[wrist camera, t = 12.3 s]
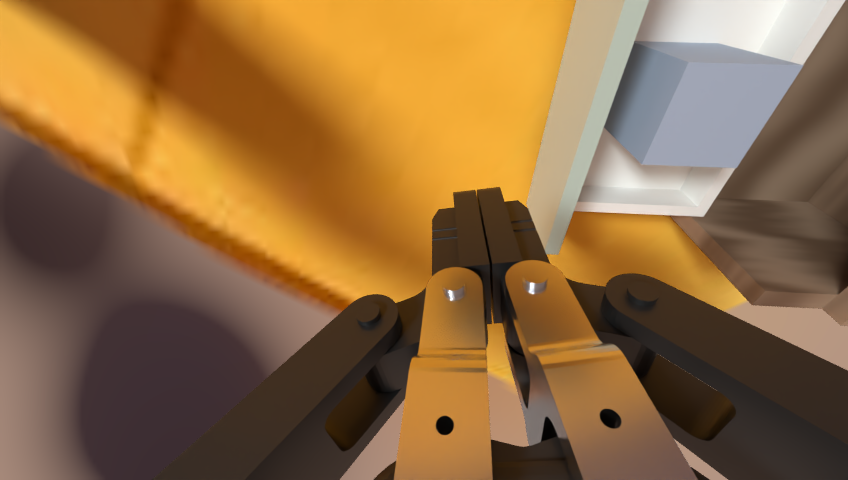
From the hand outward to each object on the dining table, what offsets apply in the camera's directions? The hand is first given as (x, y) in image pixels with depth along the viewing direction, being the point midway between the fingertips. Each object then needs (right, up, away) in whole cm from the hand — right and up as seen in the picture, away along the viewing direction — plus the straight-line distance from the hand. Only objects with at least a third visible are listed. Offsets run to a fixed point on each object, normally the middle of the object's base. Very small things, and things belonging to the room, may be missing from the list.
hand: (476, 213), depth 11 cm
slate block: (+13, +9, +10) cm, 19 cm away
